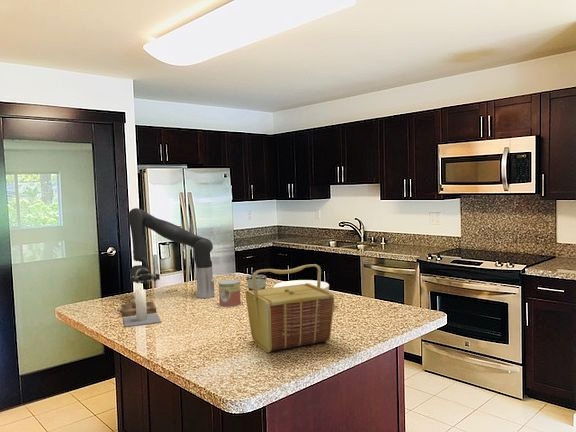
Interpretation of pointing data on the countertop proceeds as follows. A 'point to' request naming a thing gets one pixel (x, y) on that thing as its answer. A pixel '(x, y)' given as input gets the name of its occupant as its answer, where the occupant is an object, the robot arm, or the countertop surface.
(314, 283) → the plate stack
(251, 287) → the food container
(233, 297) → the canned food
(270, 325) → the picnic basket
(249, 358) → the countertop surface
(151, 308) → the walnut holder
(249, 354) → the countertop surface
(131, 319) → the grey mat
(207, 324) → the countertop surface
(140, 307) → the cream cylinder
